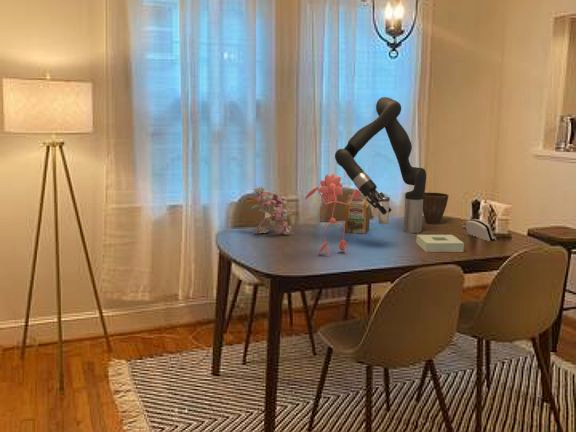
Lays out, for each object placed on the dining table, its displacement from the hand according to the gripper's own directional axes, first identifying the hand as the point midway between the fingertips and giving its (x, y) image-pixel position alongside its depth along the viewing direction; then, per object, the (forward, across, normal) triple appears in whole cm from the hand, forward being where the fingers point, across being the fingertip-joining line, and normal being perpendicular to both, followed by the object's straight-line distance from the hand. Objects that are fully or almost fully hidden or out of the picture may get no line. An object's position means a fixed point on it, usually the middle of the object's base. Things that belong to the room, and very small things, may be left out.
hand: (387, 212), depth 270 cm
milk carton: (-6, +21, +30) cm, 37 cm away
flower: (-28, -8, +51) cm, 59 cm away
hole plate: (+26, +13, -3) cm, 29 cm away
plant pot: (+11, +66, +13) cm, 68 cm away
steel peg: (+2, 0, +5) cm, 6 cm away
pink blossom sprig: (0, -24, +23) cm, 34 cm away
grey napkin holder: (+33, +45, -9) cm, 57 cm away
